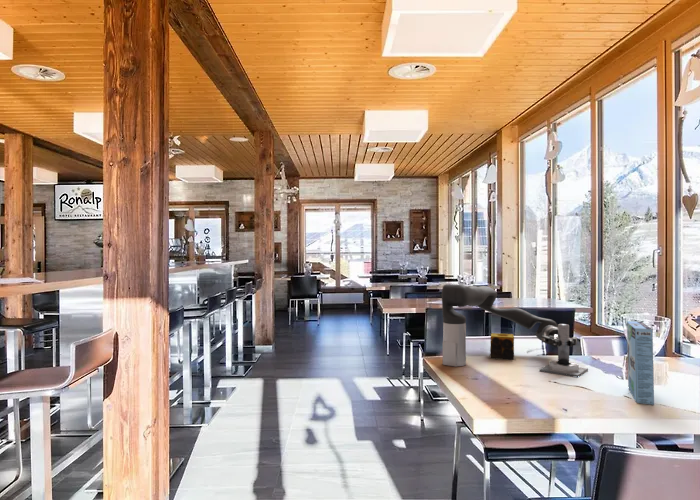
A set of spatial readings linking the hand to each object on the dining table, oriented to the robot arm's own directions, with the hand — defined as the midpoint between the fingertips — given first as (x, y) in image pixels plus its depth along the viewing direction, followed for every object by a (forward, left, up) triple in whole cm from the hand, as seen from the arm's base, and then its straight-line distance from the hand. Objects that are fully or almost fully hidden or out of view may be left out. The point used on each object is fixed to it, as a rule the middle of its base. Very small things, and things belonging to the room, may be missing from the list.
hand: (565, 343), depth 182 cm
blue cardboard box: (-17, -28, -11) cm, 34 cm away
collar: (+2, +1, -11) cm, 11 cm away
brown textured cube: (+11, +30, -11) cm, 34 cm away
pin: (+2, +1, -9) cm, 9 cm away
